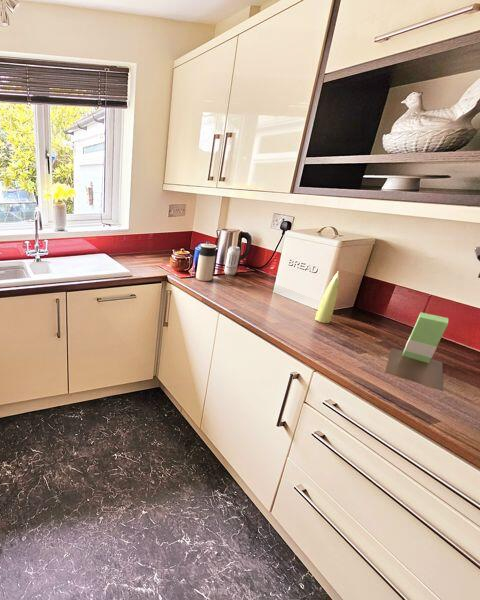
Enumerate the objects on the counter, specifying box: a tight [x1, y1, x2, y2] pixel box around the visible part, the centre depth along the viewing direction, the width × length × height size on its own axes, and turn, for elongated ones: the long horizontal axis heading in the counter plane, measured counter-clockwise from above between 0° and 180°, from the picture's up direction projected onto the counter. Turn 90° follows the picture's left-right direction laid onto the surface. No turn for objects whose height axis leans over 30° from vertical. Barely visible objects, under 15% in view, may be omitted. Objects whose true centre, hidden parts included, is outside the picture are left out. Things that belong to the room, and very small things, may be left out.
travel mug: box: [195, 243, 217, 282], centre depth 173 cm, size 8×8×18 cm
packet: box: [403, 312, 449, 363], centre depth 102 cm, size 6×14×4 cm
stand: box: [384, 347, 444, 392], centre depth 100 cm, size 12×20×1 cm, turn 135°
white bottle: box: [224, 245, 241, 276], centre depth 182 cm, size 6×6×15 cm
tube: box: [314, 271, 340, 324], centre depth 127 cm, size 6×5×20 cm
